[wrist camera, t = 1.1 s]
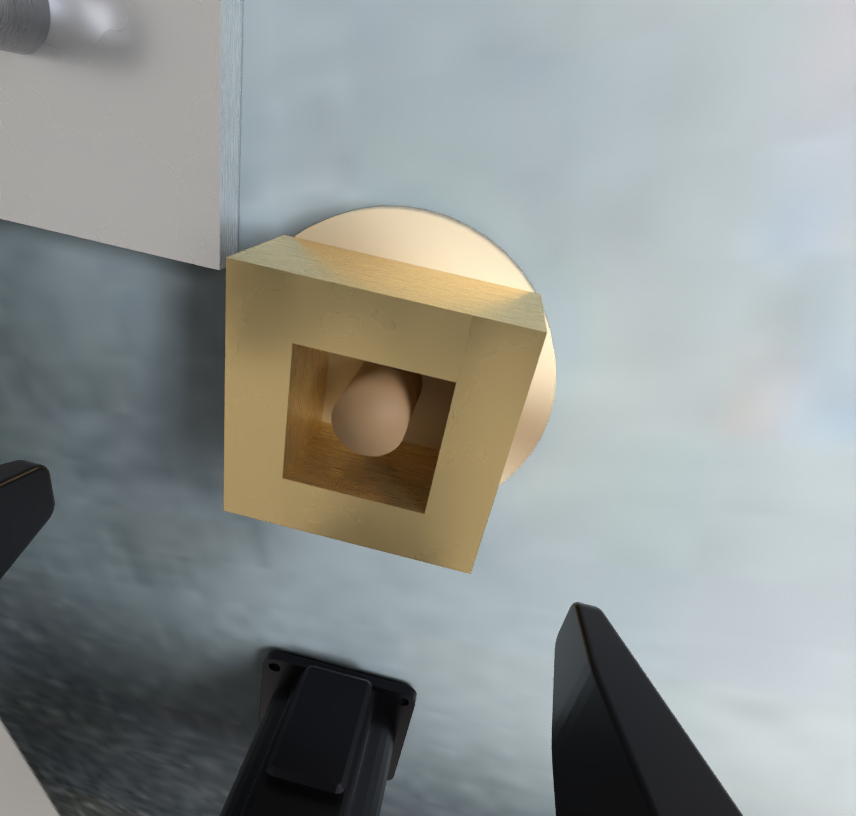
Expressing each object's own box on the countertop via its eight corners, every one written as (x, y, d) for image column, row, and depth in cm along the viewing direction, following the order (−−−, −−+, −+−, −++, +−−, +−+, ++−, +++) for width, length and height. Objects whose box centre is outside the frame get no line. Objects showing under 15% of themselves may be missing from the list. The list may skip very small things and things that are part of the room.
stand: (506, 521, 17) (504, 602, 14) (247, 456, 18) (191, 522, 15) (599, 248, 13) (625, 280, 10) (257, 171, 14) (181, 179, 10)
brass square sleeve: (477, 502, 16) (470, 573, 13) (271, 451, 16) (223, 510, 14) (540, 294, 13) (547, 332, 10) (283, 234, 13) (225, 257, 11)
